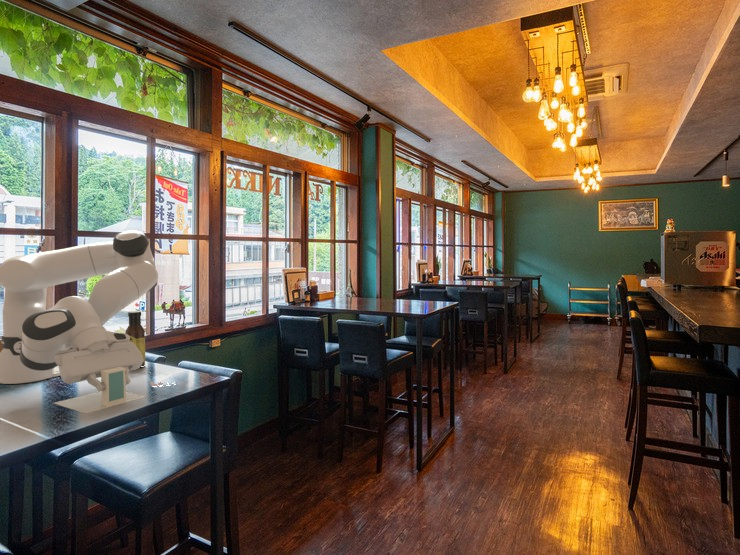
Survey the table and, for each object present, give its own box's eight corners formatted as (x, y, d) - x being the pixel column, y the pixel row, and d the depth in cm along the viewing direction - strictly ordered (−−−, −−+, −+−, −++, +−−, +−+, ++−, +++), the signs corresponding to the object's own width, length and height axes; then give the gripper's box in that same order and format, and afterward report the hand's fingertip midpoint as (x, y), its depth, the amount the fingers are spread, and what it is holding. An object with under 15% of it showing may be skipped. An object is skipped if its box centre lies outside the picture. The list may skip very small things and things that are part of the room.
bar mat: (53, 404, 121) (53, 402, 121) (113, 389, 135) (113, 388, 135) (85, 415, 113) (85, 413, 113) (146, 398, 127) (146, 396, 127)
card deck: (101, 405, 120) (101, 370, 119) (120, 400, 124) (119, 366, 123) (107, 406, 118) (106, 371, 118) (126, 401, 123) (125, 367, 122)
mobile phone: (170, 372, 152) (178, 383, 140) (170, 375, 153) (178, 386, 140) (145, 375, 148) (151, 386, 136) (145, 378, 149) (151, 390, 136)
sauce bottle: (123, 367, 163) (122, 311, 162) (143, 364, 167) (141, 309, 166) (128, 370, 158) (126, 312, 157) (147, 367, 162) (146, 311, 161)
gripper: (55, 344, 115) (77, 389, 110) (133, 333, 133) (155, 371, 128) (47, 360, 118) (68, 404, 113) (124, 347, 135) (145, 384, 130)
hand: (115, 386), depth 121 cm, fingers closed on card deck, 5 cm apart
